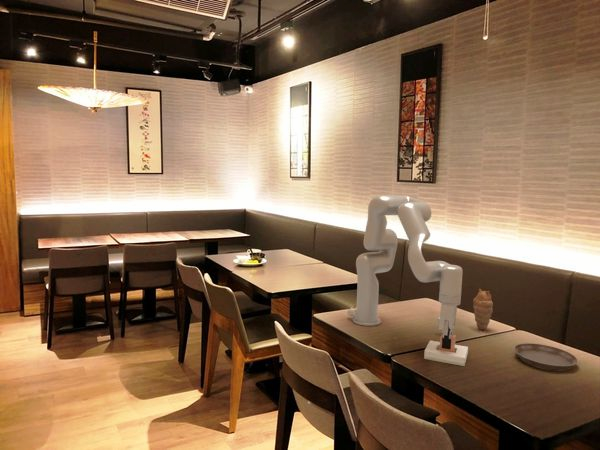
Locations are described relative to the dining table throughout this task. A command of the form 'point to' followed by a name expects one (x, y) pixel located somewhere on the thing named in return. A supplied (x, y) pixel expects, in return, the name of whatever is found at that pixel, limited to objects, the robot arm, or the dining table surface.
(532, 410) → the dining table surface
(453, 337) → the block
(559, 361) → the plant saucer
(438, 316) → the white plastic device
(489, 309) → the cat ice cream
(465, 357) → the holder
